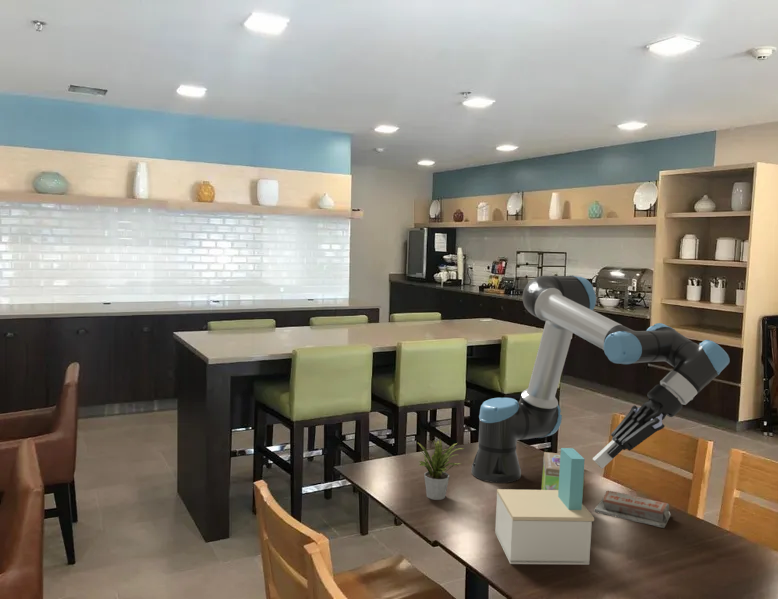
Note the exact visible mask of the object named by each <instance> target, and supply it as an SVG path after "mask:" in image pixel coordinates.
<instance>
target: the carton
mask: <svg viewBox="0 0 778 599" xmlns="http://www.w3.org/2000/svg"><path fill="white" fill-rule="evenodd" d="M592 522H593V521H541V520H512V518H511V516H510V515H509V513H508V511H507V509H506V508H505V506H504V504H503V502H502V500H501V499H500V497H499V495H498V493H496V510H495V530H494V532H495V535H496V537H497V540H498V541H499V544H500V545H501V548H502V549H503V552H504V554H505V556H506V558H507V560H508V562H509V564H510V565H582V566H583V565H590V558H591V556H590V555H591V540H592Z"/></svg>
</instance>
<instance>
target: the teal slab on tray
mask: <svg viewBox="0 0 778 599" xmlns="http://www.w3.org/2000/svg"><path fill="white" fill-rule="evenodd" d="M559 454H560V472H559V490H541V489H511V488H510V489H509V488H507V489H505V488H504V489H501V488H498V489H497V488H496V494H498V495H499V497H500V499H501V500H502V502H503V504H504V506H505V508H506V509H507V511H508V513H509V515H510V516H511V518H512V520H541V521H592V522H595V517H594V516H593V514H592V513H591V512H590V511H589V510H588V509H587V507H586V506H585V505H584V504H583V498H582V495H584V485H583V478H584V479H585V458H584V456H582V455H581V454H580V453H579V452H578V451H577V450H576V449H574V448H573V447H561V448H560V453H559Z"/></svg>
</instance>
